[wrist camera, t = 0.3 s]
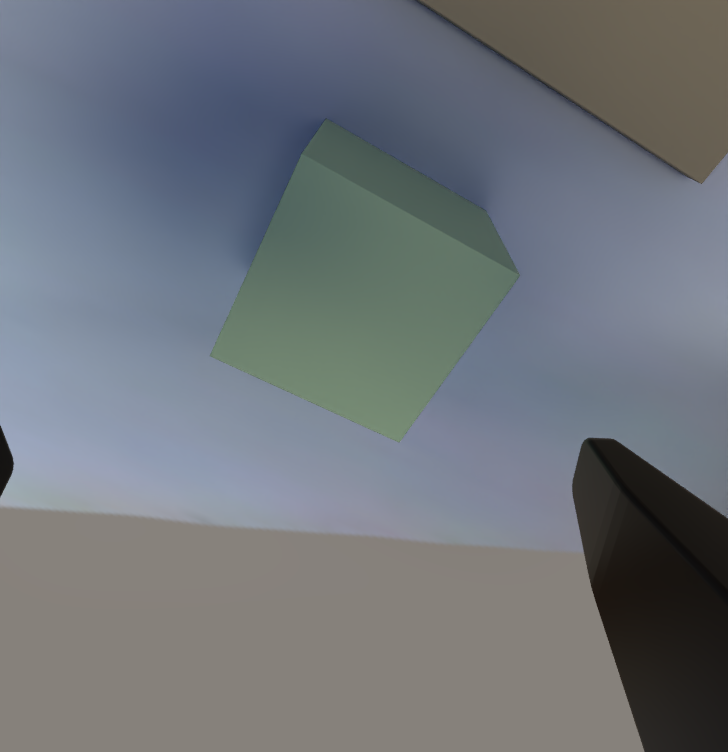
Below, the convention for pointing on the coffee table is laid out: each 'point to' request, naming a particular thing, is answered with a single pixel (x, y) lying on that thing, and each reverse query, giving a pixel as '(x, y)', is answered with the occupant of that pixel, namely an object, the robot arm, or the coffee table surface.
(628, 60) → the mat
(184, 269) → the coffee table surface
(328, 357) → the cube
